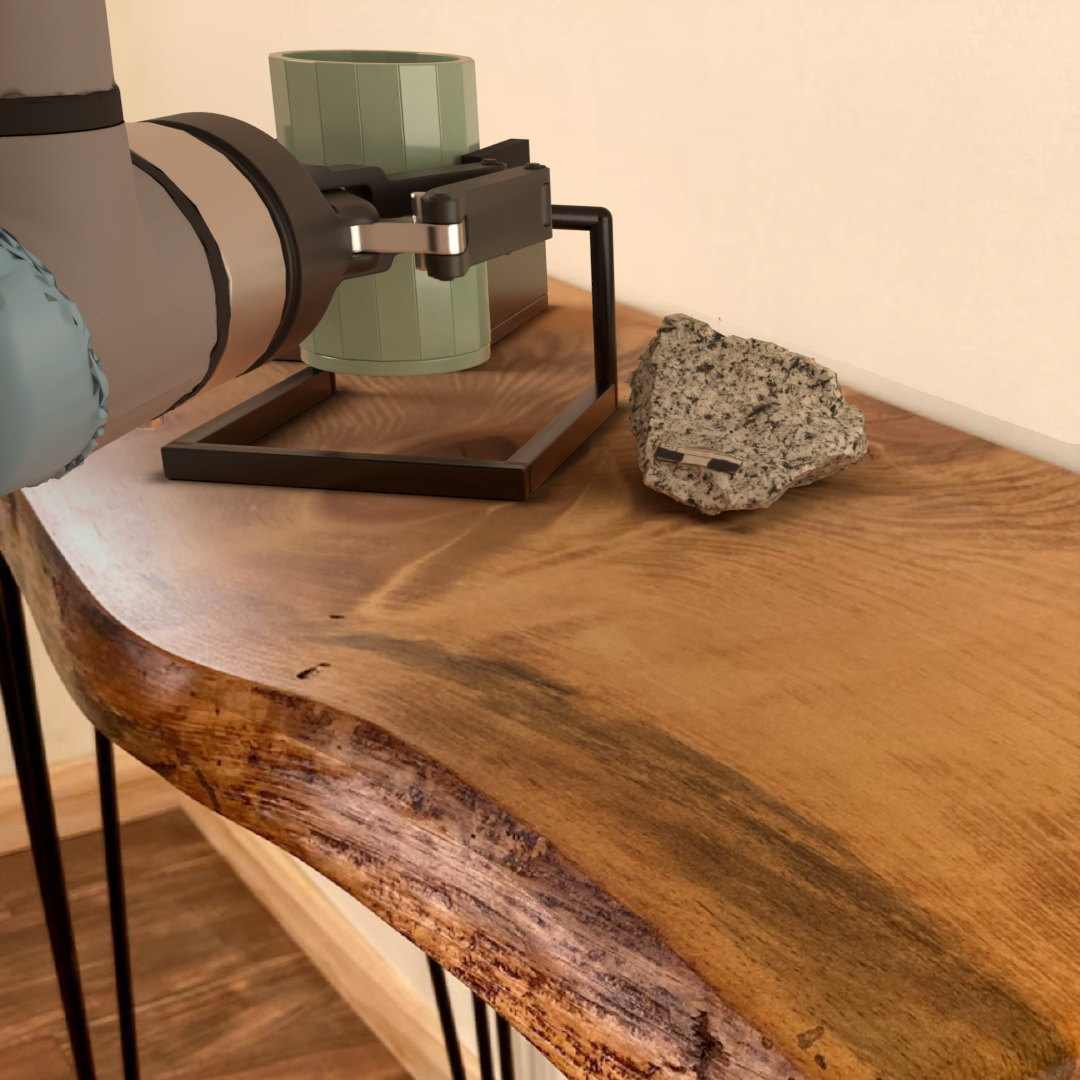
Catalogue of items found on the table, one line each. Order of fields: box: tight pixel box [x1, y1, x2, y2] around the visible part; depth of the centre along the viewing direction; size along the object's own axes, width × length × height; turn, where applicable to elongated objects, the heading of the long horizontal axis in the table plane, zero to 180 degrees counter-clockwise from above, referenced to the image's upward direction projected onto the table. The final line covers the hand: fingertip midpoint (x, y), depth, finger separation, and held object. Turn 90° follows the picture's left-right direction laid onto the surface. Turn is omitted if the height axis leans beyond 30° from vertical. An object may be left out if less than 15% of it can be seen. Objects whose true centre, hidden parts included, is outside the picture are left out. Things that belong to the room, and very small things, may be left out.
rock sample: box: [621, 312, 874, 516], centre depth 67 cm, size 10×8×9 cm
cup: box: [267, 48, 492, 378], centre depth 69 cm, size 7×7×11 cm
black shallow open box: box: [275, 240, 549, 362], centre depth 92 cm, size 18×17×4 cm
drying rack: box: [160, 203, 619, 501], centre depth 72 cm, size 14×16×8 cm
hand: (424, 169), depth 73 cm, fingers closed on cup, 7 cm apart
